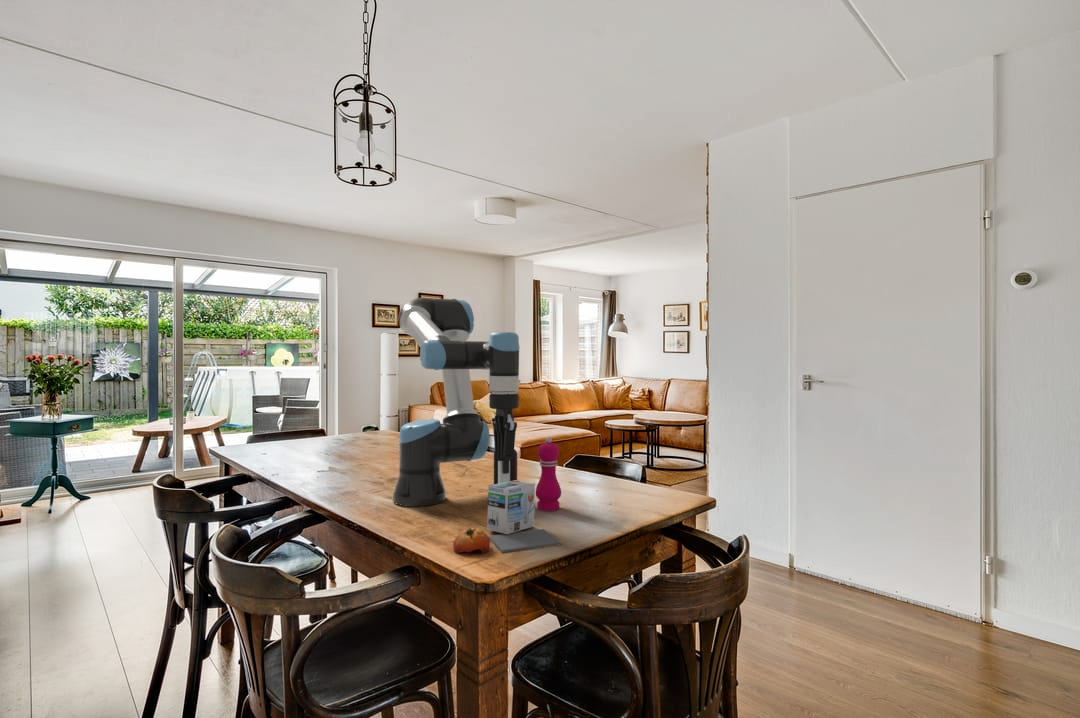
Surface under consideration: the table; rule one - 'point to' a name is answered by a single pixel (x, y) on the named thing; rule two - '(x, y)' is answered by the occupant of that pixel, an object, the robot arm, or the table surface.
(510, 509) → the light bulb box
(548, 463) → the pepper mill
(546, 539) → the mat
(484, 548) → the tomato
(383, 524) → the table surface
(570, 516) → the table surface
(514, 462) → the bottle
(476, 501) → the table surface
